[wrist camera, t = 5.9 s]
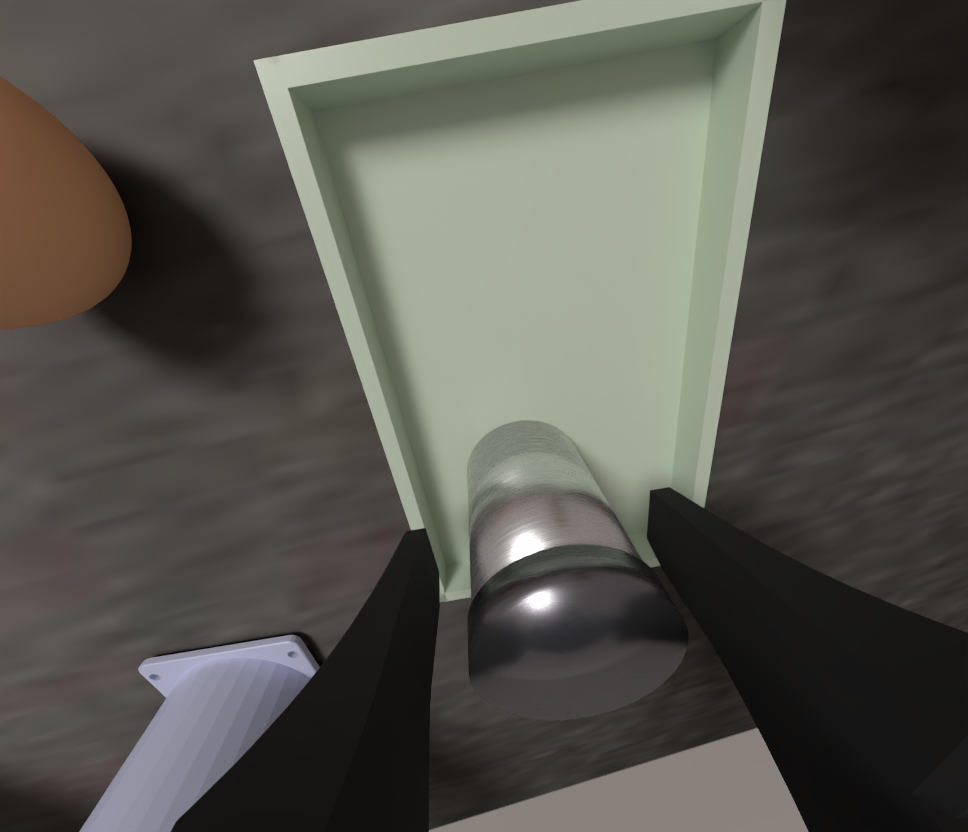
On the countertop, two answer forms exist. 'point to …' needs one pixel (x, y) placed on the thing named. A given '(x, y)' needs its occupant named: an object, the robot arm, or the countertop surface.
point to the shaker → (558, 585)
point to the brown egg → (53, 219)
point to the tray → (537, 235)
